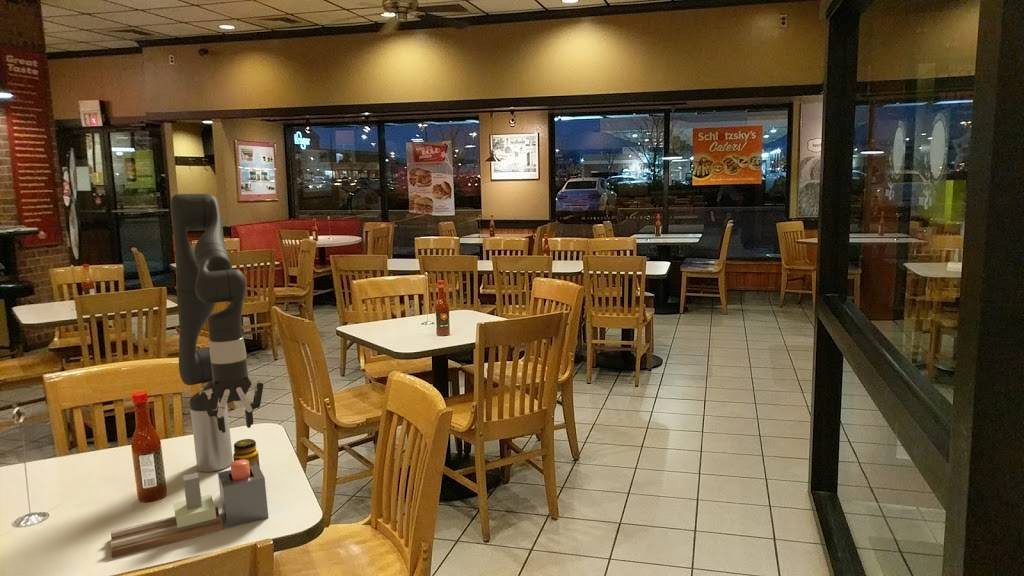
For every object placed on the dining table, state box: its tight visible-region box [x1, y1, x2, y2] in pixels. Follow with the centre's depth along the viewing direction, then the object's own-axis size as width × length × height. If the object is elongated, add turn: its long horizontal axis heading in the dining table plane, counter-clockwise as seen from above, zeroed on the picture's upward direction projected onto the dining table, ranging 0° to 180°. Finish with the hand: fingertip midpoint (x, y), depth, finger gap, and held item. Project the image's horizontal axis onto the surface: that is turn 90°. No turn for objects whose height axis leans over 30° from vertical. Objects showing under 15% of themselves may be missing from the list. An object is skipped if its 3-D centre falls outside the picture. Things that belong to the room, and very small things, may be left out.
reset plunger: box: [230, 460, 250, 481], centre depth 166 cm, size 4×4×6 cm
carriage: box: [173, 472, 216, 528], centre depth 161 cm, size 8×8×10 cm
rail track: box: [110, 505, 224, 559], centre depth 160 cm, size 9×22×2 cm, turn 119°
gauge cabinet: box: [217, 464, 269, 529], centre depth 167 cm, size 9×9×10 cm
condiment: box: [232, 438, 266, 487], centre depth 182 cm, size 7×8×12 cm
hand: (236, 428), depth 164 cm, fingers open, 5 cm apart
